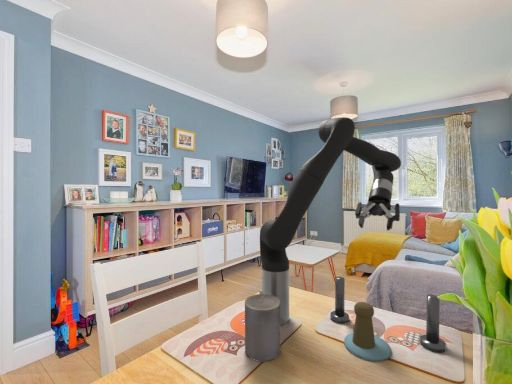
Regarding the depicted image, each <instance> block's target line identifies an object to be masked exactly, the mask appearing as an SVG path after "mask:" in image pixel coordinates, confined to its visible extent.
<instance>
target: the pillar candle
mask: <svg viewBox="0 0 512 384" xmlns="http://www.w3.org/2000/svg"><path fill="white" fill-rule="evenodd" d="M244 344H245V345H244V352H245V355H246V354H247V355H248V356H249V357H250V358H252V359H255V360H258V361H257V362H259V361H261V362H262V363H263V362H267V361H272V360H275V359H277V357H278V356H279V355H280V354H281V325H280V301H279V299H278V298H277V297H275V296H272V295H268V294H253V295H252V294H251V295H250V296H247V298H245V300H244ZM247 355H246V356H247ZM248 356H247V357H248ZM249 357H248V358H249ZM250 358H249V359H250ZM252 359H251V360H252ZM255 360H254V361H255ZM261 362H260V363H261Z"/></svg>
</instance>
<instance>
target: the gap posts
mask: <svg viewBox="0 0 512 384" xmlns="http://www.w3.org/2000/svg"><path fill="white" fill-rule="evenodd" d="M345 280H346V279H345V277H343V276H335V277H334V285H335V287H334V294H335V295H334V310H333V311H331V312H330V320H331V321H332V322H334V323H335V322H336V323H335V324H339V323H340V324H339V325H345V323H346V324H348V323H350V314H349V313H347V312H345V295H346V294H345V293H346V292H345V288H346V287H345ZM437 296H438V295H436V294H430V293H429V294H426V320H425V321H426V322H425V323H426V324H425V325H426V326H425V327H426V330H425V331H426V334H422V335H420V336H419V344H420V345H421V347H422V346H423V347H422V348H423V349H425V350H428V351H430V352H433V353H439V354H442V353H445V352H446V351H447V350H446V349H447V344H446V342H445V340H444V339H442V338H440V314H441V313H440V312H441V311H440V305H441V303H440V302H441V301H440V299H441V298H440V299H438V298H437Z"/></svg>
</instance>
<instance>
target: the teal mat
mask: <svg viewBox="0 0 512 384" xmlns="http://www.w3.org/2000/svg"><path fill="white" fill-rule="evenodd" d="M374 338H375V347H374V348H373V349H363V348H360V347H358V346H356V345H355V344H354V343H353V342H352V339H353V332H350V333H347V334H346V335H345V337H344V340H343V342H344V343H343V345H344V348H346V350H347V351H348V352H349V353H350V354H352V355H353V356H355V357H356V358H360V359H362V360H366V361H369V362H381V361H382V362H384V361H387V360H388V359H389V358H390V357H391V355H392V348H391V346H390V343H388V342H387V341H385V339H383V338H381V337H380V336H377V335H375V334H374Z"/></svg>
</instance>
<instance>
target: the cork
mask: <svg viewBox="0 0 512 384" xmlns="http://www.w3.org/2000/svg"><path fill="white" fill-rule="evenodd" d="M353 311H354V314H355V320H354V326H353V332H352V333H353V339H352V342H353V343H354V344H355V345H356V346H358V347H360V348H363V349H373V348H374V347H375V338H374V335H375V332H374V325H373V324H374V323H373V317H374V315H375V309H374V307H373V305H372V304H370V303H369V302H366V301H365V302H364V301H358V302H356V303H355V304H354V306H353Z"/></svg>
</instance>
